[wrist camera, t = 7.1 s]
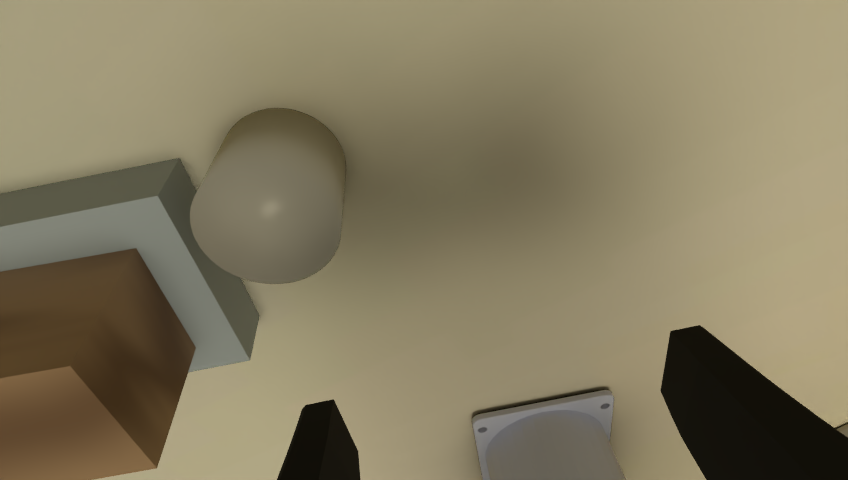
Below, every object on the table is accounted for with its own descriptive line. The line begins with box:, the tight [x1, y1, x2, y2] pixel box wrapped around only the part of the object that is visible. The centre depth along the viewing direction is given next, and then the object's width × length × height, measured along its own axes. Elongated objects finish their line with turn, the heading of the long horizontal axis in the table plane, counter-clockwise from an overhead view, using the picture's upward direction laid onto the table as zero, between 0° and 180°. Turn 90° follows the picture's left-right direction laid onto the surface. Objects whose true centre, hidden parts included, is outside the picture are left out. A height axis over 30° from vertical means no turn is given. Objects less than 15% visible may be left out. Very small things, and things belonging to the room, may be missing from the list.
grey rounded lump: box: [190, 108, 346, 284], centre depth 17 cm, size 4×4×4 cm
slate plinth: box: [0, 158, 259, 372], centre depth 20 cm, size 8×8×3 cm
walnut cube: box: [0, 248, 196, 480], centre depth 17 cm, size 5×5×5 cm
